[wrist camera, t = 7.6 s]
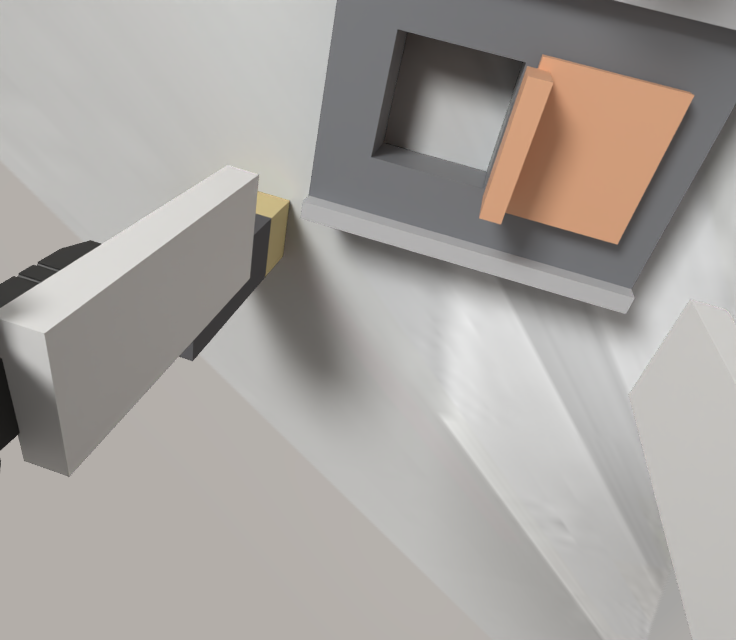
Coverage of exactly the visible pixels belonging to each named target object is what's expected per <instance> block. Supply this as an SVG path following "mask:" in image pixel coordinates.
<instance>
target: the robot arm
mask: <svg viewBox="0 0 736 640" xmlns="http://www.w3.org/2000/svg"><path fill="white" fill-rule="evenodd" d="M258 180H259V174H256V173H253V172H249V171H246V170H242V169H239V168H235V167H232V166H229V165H227V166H225V167H223V168H222V169H220V170H219V171H217V172H216V173H214V174H212V175H211V176H209V177H208V178H206V179H204V180H203V181H201V182H200V183H198V184H197V185H195V186H193V187H192V188H190V189H189V190H187V191H185V192H184V193H182V194H181V195H179V196H177V197H176V198H174V199H173V200H171V201H170V202H168V203H166V204H165V205H163V206H162V207H160V208H158V209H157V210H155V211H154V212H152V213H150V214H149V215H147V216H146V217H144V218H143V219H141V220H139V221H138V222H136V223H135V224H133V225H131V226H130V227H128V228H127V229H125V230H124V231H122V232H120V233H119V234H117V235H116V236H114V237H112V238H111V239H109V240H108V241H106V242H104V243H103V244H101V243H97V242H94V241H91V240H90V241H87V242H83V243H79V244H76V245H73V246H69V247H66V248H62V249H59V250H58V251H56V252H54V253H53V254H51V255H49V256H48V257H46V258H44V259H42V260H41V261H39V262H38V264H37V266H36V265H32V266H30V267H29V268H27V269H25V270H23V271H22V272H20V273H19V275H18V277H15V276H13V277H11V278H10V279H8V280H6V281H5V282H3V283H1V284H0V450H1V449H2V448H4V447H5V446H6V445H7V444H8V443H9V442H10V441H11V440H12V439H14V438H15V437H16V436H17V435H18V437H19V441H20V445H21V450H22V454H23V458H24V461H26V462H29V463H32V464H35V465H37V466H40V467H43V468H46V469H49V470H52V471H54V472H58V473H60V474H63V475H66V476H71V474H72V473H73V472H74V471H75V470H76V469H77V468H78V467H79V466H80V465H81V463H82V462H83V461H84V460H85V459H86V458H87V457H88V456H89V455H90V454H91V452H92V451H93V450H94V449H95V448H96V447H97V446H98V444H100V443H101V441H102V440H103V439H104V438H105V437H106V436H107V435H108V434H109V433H110V431H111V430H112V429H113V428H114V427H115V426H116V425H117V424H118V423H119V422H120V421H121V419H122V418H123V417H124V416H125V415H126V414H127V413H128V412H129V411H130V409H131V408H132V407H133V406H134V405H135V404H136V403H137V402H138V401H139V400H140V399H141V397H142V396H143V395H144V394H145V393H146V392H147V391H148V390H149V388H151V386H152V385H153V384H154V383H155V382H156V381H157V380H158V379H159V378H160V377H161V375H162V374H163V373H164V372H165V371H166V370H167V369H168V368H169V367H170V366H171V364H172V363H173V362H174V361H175V360H176V359H177V358H178V357H179V356H180V355H181V354H182V352H183V351H184V350H185V349H186V348H187V347H188V346H189V345H190V344H191V343H192V341H193V340H194V339H195V338H196V337H197V336H198V335H199V334H200V333H201V332H202V330H203V329H204V328H205V327H206V326H207V325H208V324H209V323H210V322H211V321H212V319H213V318H214V317H215V316H216V315H217V314H218V313H219V312H220V311H221V310H222V308H223V307H224V306H225V305H226V304H227V303H228V302H229V301H230V300H231V299H232V297H233V296H234V295H235V294H236V293H237V292H238V291H239V290H240V289H241V288H242V286H243V285H244V284H245V283H246V282H247V281H248V280H249V279H250V271H251V259H252V248H253V237H254V225H255V214H256V203H257V191H258ZM629 398H630V402H631V406H632V410H633V414H634V418H635V421H636V425H637V429H638V433H639V437H640V441H641V445H642V448H643V452H644V456H645V460H646V464H647V468H648V472H649V476H650V479H651V483H652V487H653V491H654V495H655V499H656V503H657V506H658V510H659V514H660V518H661V522H662V526H663V530H664V533H665V537H666V541H667V545H668V549H669V553H670V557H671V560H672V564H673V568H674V572H675V576H676V580H677V584H678V588H679V591H680V595H681V599H682V603H683V607H684V611H685V615H686V618H687V622H688V626H689V630H690V634H691V638H692V640H736V323H735V321H734V320H733V318H732V317H731V315H730V313H729V312H728V310H727V309H723V308H720V307H716V306H713V305H709V304H706V303H702V302H699V301H695V300H692V299H690V300H689V302H688V303H687V305H686V306H685V308H684V309H683V311H682V313H681V314H680V316H679V317H678V319H677V320H676V322H675V323H674V325H673V327H672V328H671V330H670V331H669V333H668V334H667V336H666V337H665V339H664V340H663V342H662V344H661V345H660V347H659V348H658V350H657V351H656V353H655V354H654V356H653V358H652V359H651V361H650V362H649V364H648V365H647V367H646V368H645V370H644V372H643V373H642V375H641V376H640V378H639V379H638V381H637V382H636V384H635V386H634V387H633V389H632V390H631V392H630V393H629ZM0 466H1V460H0Z"/></svg>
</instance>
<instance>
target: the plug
mask: <svg viewBox="0 0 736 640" xmlns="http://www.w3.org/2000/svg"><path fill="white" fill-rule="evenodd" d="M289 203H290V201H289V200H286V199H282V198H279V197H276V196H272V195H269V194H265V193H262V192H258V191H257V203H256V214H255V225H254V237H253V248H252V259H251V271H250V279H249V280H248V281H247V282H246V283H245V284H244V285H243V286H242V288H241V289H240V290H239V291H238V292H237V293H236V294H235V295H234V296H233V297H232V299H231V300H230V301H229V302H228V303H227V304H226V305H225V306H224V307H223V308H222V310H221V311H220V312H219V313H218V314H217V315H216V316H215V317H214V318H213V319H212V321H211V322H210V323H209V324H208V325H207V326H206V327H205V328H204V329H203V330H202V332H201V333H200V334H199V335H198V336H197V337H196V338H195V339H194V340H193V341H192V343H191V344H190V345H189V346H188V347H187V348H186V349H185V350H184V351H183V352H182V354H181V355H180V356H179V357H182V358H185V359H188V360H191V361H193V360H194V359H195V358H196V357H197V356H198V354H199V353H200V352H201V351H202V350H203V349H204V347H205V346H206V345H207V344H208V343H209V342H210V340H211V339H212V338H213V337H214V336H215V335H216V333H217V332H218V331H219V330H220V329H221V328H222V326H223V325H224V324H225V323H226V322H227V321H228V320H229V318H230V317H231V316H232V315H233V314H234V313H235V311H236V310H237V309H238V308H239V307H240V306H241V304H242V303H243V302H244V301H245V300H246V299H247V297H248V296H249V295H250V294H251V293H252V292H253V290H254V289H255V288H256V287H257V286H258V285H259V284H260V282H261V281H262V280H263V279H264V278H265V277H266V275H267V274H268V273H269V272H270V271H271V270H272V268H273V267H274V266H275V265H276V264H277V263H278V261H279V260H280V259H281V258H282V257H283V251H284V243H285V235H286V227H287V219H288V211H289Z"/></svg>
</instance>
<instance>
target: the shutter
mask: <svg viewBox="0 0 736 640" xmlns="http://www.w3.org/2000/svg"><path fill="white" fill-rule="evenodd" d="M694 96H695V95H693V94H692V93H690V92H688V91H684V90H680V89H676V88H672V87H668V86H664V85H660V84H656V83H653V82H649V81H645V80H641V79H637V78H633V77H629V76H625V75H621V74H618V73H614V72H610V71H606V70H602V69H598V68H594V67H590V66H586V65H582V64H579V63H575V62H571V61H567V60H563V59H559V58H555V57H551V56H547V55H543V54H542V57H541V60H540V62H539V65H538V68H533V67H529V66H527V68H526V71H525V74H524V77H523V80H522V83H521V86H520V89H519V92H518V94H517V97H516V100H515V103H514V106H513V109H512V112H511V115H510V118H509V121H508V124H507V127H506V130H505V133H504V136H503V139H502V142H501V145H500V147H499V150H498V153H497V156H496V159H495V162H494V165H493V168H492V171H491V174H490V177H489V180H488V183H487V186H486V189H485V192H484V195H483V199H482V204H481V210H480V216H479V218H480V219H483V220H487V221H490V222H494V223H497V224H501V223H502V220H503V217H504V215H505V213H508V214H511V215H515V216H518V217H522V218H525V219H529V220H533V221H536V222H540V223H543V224H547V225H550V226H554V227H557V228H561V229H564V230H568V231H571V232H575V233H578V234H582V235H585V236H589V237H592V238H596V239H599V240H603V241H606V242H610V243H614V244H618V242H619V241H620V239H621V237H622V235H623V233H624V231H625V229H626V227H627V225H628V223H629V221H630V219H631V217H632V215H633V213H634V212H635V210H636V208H637V206H638V204H639V202H640V200H641V198H642V196H643V194H644V192H645V190H646V188H647V186H648V184H649V183H650V181H651V179H652V177H653V175H654V173H655V171H656V169H657V167H658V165H659V163H660V161H661V159H662V157H663V155H664V154H665V152H666V150H667V148H668V146H669V144H670V142H671V140H672V138H673V136H674V134H675V132H676V130H677V128H678V126H679V125H680V123H681V121H682V119H683V117H684V115H685V113H686V111H687V109H688V107H689V105H690V103H691V101H692V99H693V97H694Z"/></svg>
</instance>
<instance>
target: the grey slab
mask: <svg viewBox="0 0 736 640" xmlns="http://www.w3.org/2000/svg"><path fill="white" fill-rule="evenodd" d="M407 32H410V33H414V34H418V35H422V36H425V37H429V38H433V39H437V40H441V41H445V42H449V43H453V44H456V45H460V46H464V47H468V48H472V49H476V50H480V51H483V52H487V53H491V54H495V55H499V56H503V57H507V58H511V59H514V60H518V61H522V62H523V64H522V67H521V70H520V73H519V76H518V79H517V82H516V85H515V88H514V91H513V94H512V97H511V100H510V103H509V106H508V109H507V112H506V115H505V118H504V121H503V124H502V127H501V130H500V133H499V136H498V139H497V142H496V145H495V148H494V151H493V154H492V157H491V160H490V163H489V166H488V169H487V172H486V171H483V170H479V169H475V168H472V167H468V166H465V165H461V164H457V163H454V162H450V161H447V160H443V159H439V158H436V157H432V156H429V155H425V154H421V153H418V152H414V151H411V150H407V149H403V148H400V147H396V146H393V145H389V144H385V143H383V142H384V137H385V133H386V128H387V123H388V119H389V114H390V110H391V105H392V100H393V96H394V91H395V86H396V82H397V77H398V72H399V68H400V63H401V59H402V54H403V49H404V45H405V40H406V35H407ZM542 54H543V55H547V56H551V57H555V58H559V59H563V60H567V61H571V62H575V63H579V64H582V65H586V66H590V67H594V68H598V69H602V70H606V71H610V72H614V73H618V74H621V75H625V76H629V77H633V78H637V79H641V80H645V81H649V82H653V83H656V84H660V85H664V86H668V87H672V88H676V89H680V90H684V91H688V92H690V93H692V94H693V95H695V96H694V97H693V99H692V101H691V103H690V105H689V107H688V109H687V111H686V113H685V115H684V117H683V119H682V121H681V123H680V125H679V126H678V128H677V130H676V132H675V134H674V136H673V138H672V140H671V142H670V144H669V146H668V148H667V150H666V152H665V154H664V155H663V157H662V159H661V161H660V163H659V165H658V167H657V169H656V171H655V173H654V175H653V177H652V179H651V181H650V183H649V184H648V186H647V188H646V190H645V192H644V194H643V196H642V198H641V200H640V202H639V204H638V206H637V208H636V210H635V212H634V213H633V215H632V217H631V219H630V221H629V223H628V225H627V227H626V229H625V231H624V233H623V235H622V237H621V239H620V241H619V242H618V244H614V243H610V242H606V241H603V240H599V239H596V238H592V237H589V236H585V235H582V234H578V233H575V232H571V231H568V230H564V229H561V228H557V227H554V226H550V225H547V224H543V223H540V222H536V221H533V220H529V219H525V218H522V217H518V216H515V215H511V214H508V213H505V215H504V217H503V220H502V223H501V224H497V223H494V222H490V221H487V220H483V219H480V218H479V216H480V210H481V204H482V199H483V195H484V192H485V189H486V186H487V183H488V180H489V177H490V174H491V171H492V168H493V165H494V162H495V159H496V156H497V153H498V150H499V147H500V145H501V142H502V139H503V136H504V133H505V130H506V127H507V124H508V121H509V118H510V115H511V112H512V109H513V106H514V103H515V100H516V97H517V94H518V92H519V89H520V86H521V83H522V80H523V77H524V74H525V71H526V68H527V66H529V67H533V68H538V65H539V62H540V60H541V57H542ZM735 105H736V0H337V4H336V11H335V18H334V25H333V32H332V39H331V46H330V52H329V59H328V66H327V73H326V80H325V87H324V94H323V101H322V107H321V114H320V121H319V128H318V135H317V142H316V149H315V156H314V162H313V169H312V176H311V183H310V190H309V196H308V197H307V198H306V199H305V200H304V201H303V203H302V210H301V217H300V218H301V219H304V220H307V221H311V222H314V223H318V224H321V225H324V226H328V227H331V228H335V229H338V230H341V231H345V232H348V233H352V234H355V235H358V236H362V237H365V238H369V239H372V240H375V241H379V242H382V243H386V244H389V245H392V246H396V247H399V248H403V249H406V250H409V251H413V252H416V253H420V254H423V255H426V256H430V257H433V258H436V259H440V260H443V261H447V262H450V263H453V264H457V265H460V266H464V267H467V268H470V269H474V270H477V271H481V272H484V273H487V274H491V275H494V276H498V277H501V278H504V279H508V280H511V281H515V282H518V283H521V284H525V285H528V286H532V287H535V288H538V289H542V290H545V291H549V292H552V293H555V294H559V295H562V296H566V297H569V298H572V299H576V300H579V301H582V302H586V303H589V304H593V305H596V306H599V307H603V308H606V309H610V310H613V311H616V312H620V313H623V314H626V313H627V311H628V309H629V308H630V306H631V304H632V302H633V301H634V299H635V297H634V295H633V292H632V287H633V286H634V284H635V282H636V280H637V279H638V277H639V275H640V273H641V271H642V270H643V268H644V266H645V264H646V263H647V261H648V259H649V257H650V255H651V254H652V252H653V250H654V248H655V247H656V245H657V243H658V241H659V240H660V238H661V236H662V234H663V232H664V231H665V229H666V227H667V225H668V224H669V222H670V220H671V218H672V216H673V215H674V213H675V211H676V209H677V208H678V206H679V204H680V202H681V200H682V199H683V197H684V195H685V193H686V192H687V190H688V188H689V186H690V184H691V183H692V181H693V179H694V177H695V176H696V174H697V172H698V170H699V169H700V167H701V165H702V163H703V161H704V160H705V158H706V156H707V154H708V153H709V151H710V149H711V147H712V145H713V144H714V142H715V140H716V138H717V137H718V135H719V133H720V131H721V129H722V128H723V126H724V124H725V122H726V121H727V119H728V117H729V115H730V113H731V112H732V110H733V108H734V106H735Z"/></svg>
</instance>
